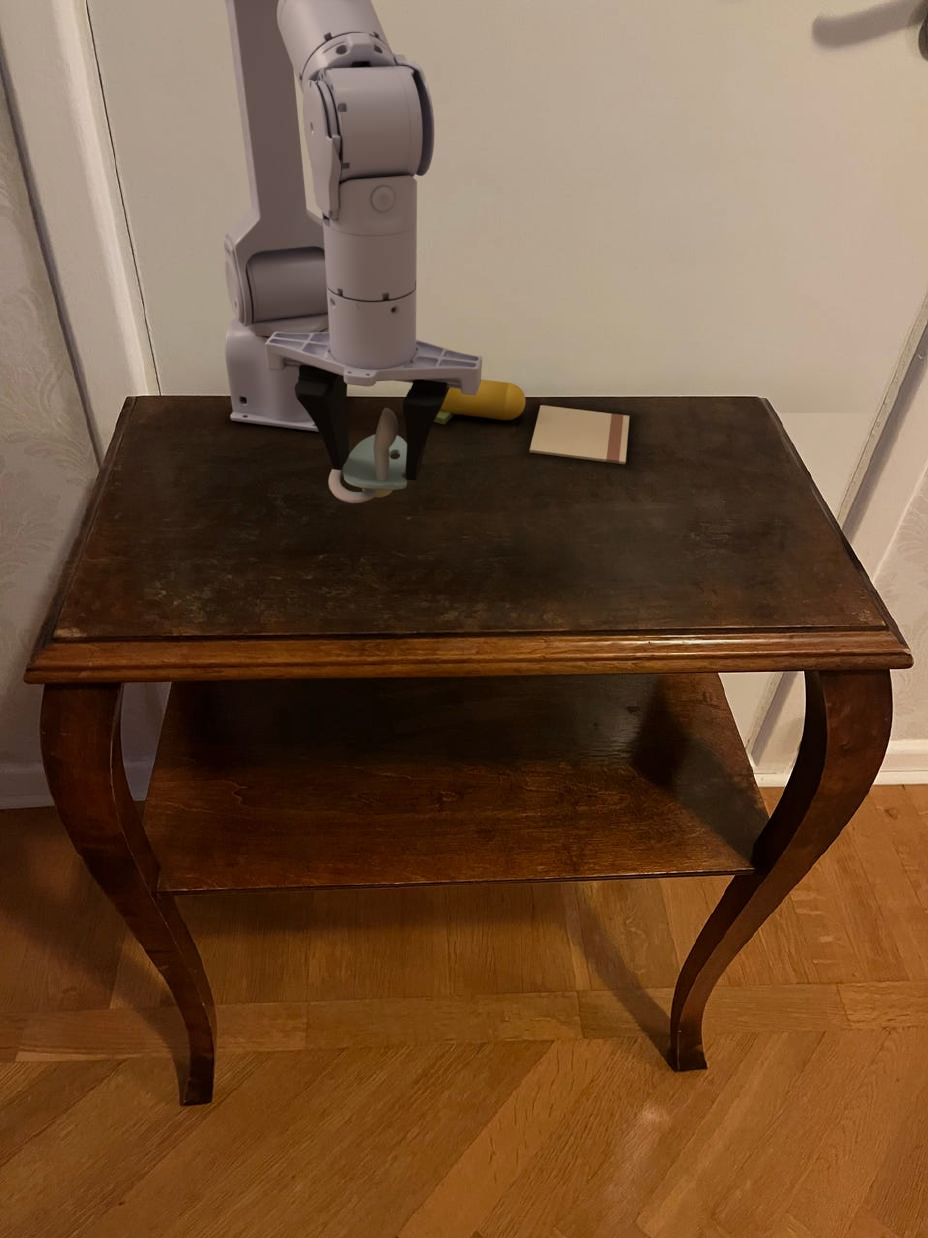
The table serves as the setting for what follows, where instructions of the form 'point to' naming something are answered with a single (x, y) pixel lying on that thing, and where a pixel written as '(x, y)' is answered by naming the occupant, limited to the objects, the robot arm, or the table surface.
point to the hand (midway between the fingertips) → (376, 467)
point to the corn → (484, 402)
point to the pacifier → (373, 464)
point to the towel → (581, 434)
